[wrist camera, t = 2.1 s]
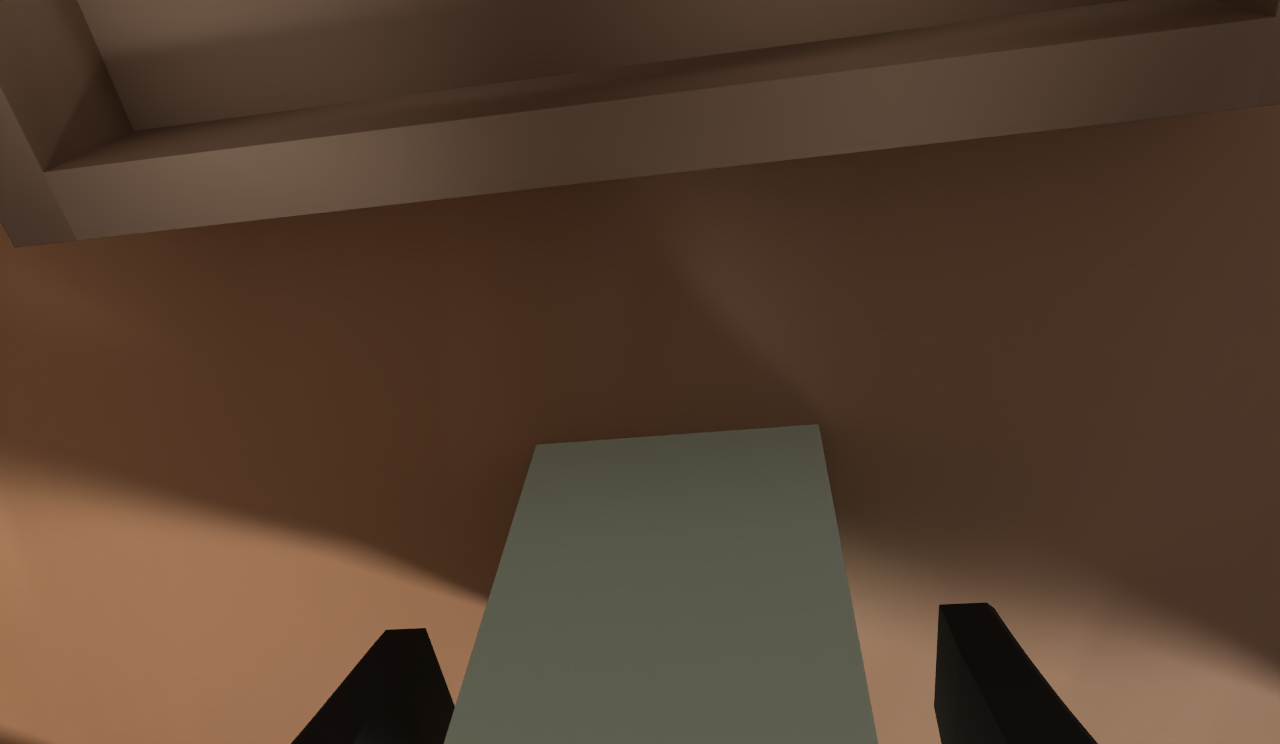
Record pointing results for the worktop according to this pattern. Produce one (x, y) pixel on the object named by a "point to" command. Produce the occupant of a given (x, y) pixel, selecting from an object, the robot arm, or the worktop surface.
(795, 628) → the sage block
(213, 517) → the worktop surface
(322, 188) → the tray
